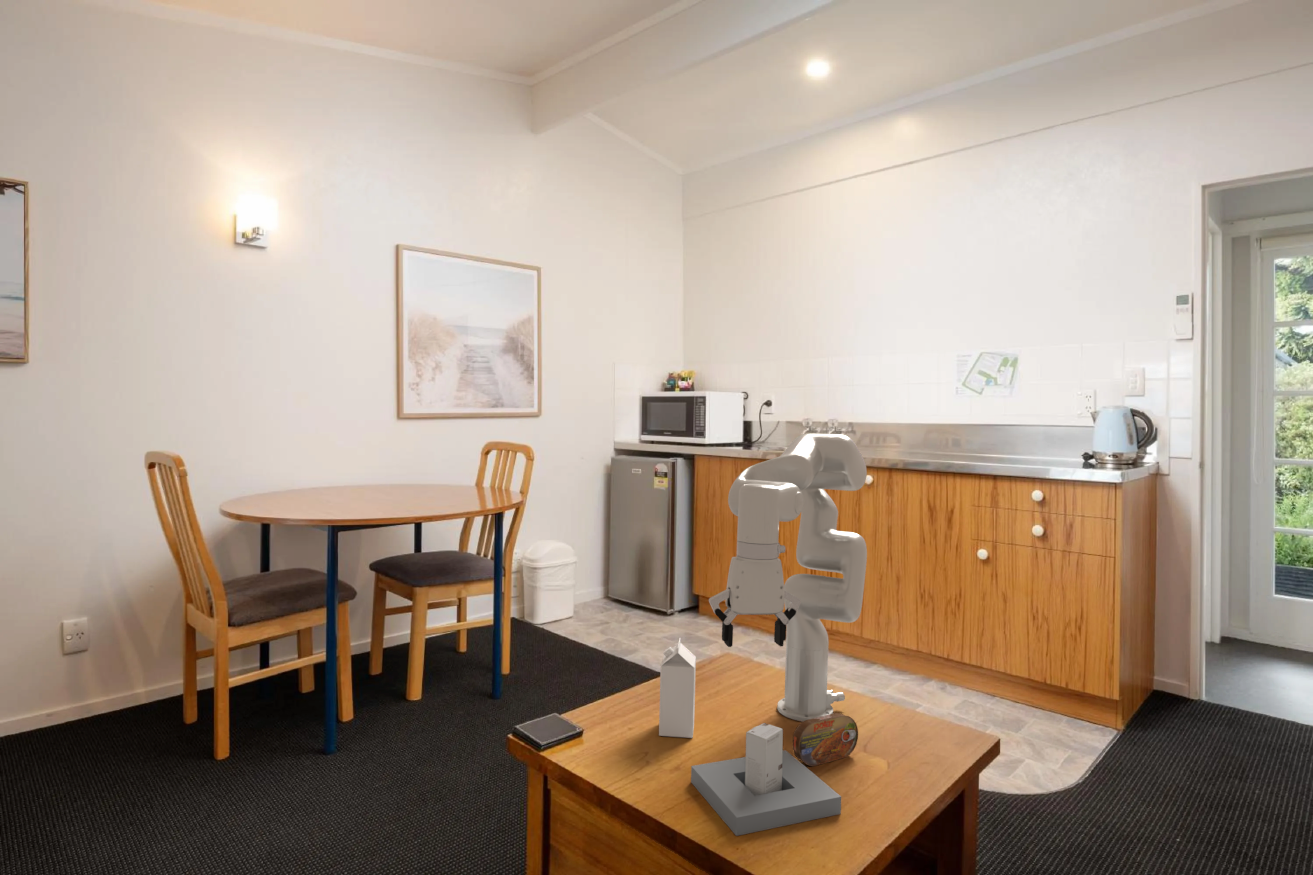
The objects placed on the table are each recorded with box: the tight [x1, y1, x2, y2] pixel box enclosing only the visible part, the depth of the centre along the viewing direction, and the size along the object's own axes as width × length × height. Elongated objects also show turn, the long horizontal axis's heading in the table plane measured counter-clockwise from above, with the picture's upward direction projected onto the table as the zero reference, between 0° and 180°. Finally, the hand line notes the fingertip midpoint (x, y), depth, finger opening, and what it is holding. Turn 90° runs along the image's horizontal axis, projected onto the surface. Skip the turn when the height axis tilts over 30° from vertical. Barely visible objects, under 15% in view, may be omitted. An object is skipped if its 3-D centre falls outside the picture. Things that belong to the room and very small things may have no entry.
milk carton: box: [658, 637, 697, 739], centre depth 155 cm, size 7×7×19 cm
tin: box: [792, 712, 859, 767], centre depth 144 cm, size 15×3×8 cm, turn 117°
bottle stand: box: [690, 749, 842, 837], centre depth 128 cm, size 20×18×3 cm
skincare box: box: [745, 722, 784, 796], centre depth 128 cm, size 6×4×12 cm
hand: (753, 644), depth 133 cm, fingers open, 9 cm apart
